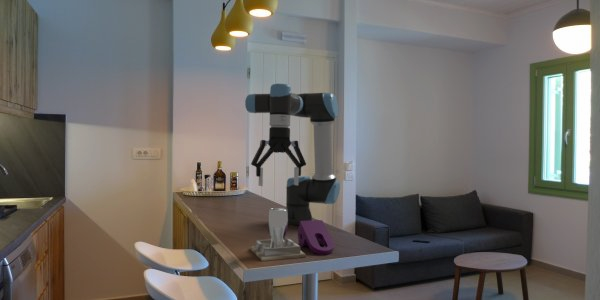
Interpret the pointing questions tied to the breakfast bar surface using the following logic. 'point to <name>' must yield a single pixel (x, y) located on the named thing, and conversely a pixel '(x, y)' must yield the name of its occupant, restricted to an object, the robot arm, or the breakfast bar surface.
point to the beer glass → (278, 226)
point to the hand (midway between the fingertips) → (278, 185)
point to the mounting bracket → (315, 237)
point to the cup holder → (277, 250)
